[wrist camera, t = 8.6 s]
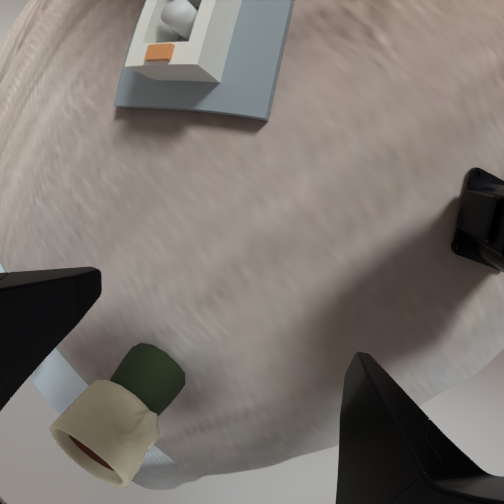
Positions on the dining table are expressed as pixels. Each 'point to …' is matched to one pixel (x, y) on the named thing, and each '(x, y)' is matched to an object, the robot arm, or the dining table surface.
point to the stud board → (235, 69)
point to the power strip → (184, 53)
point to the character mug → (120, 415)
